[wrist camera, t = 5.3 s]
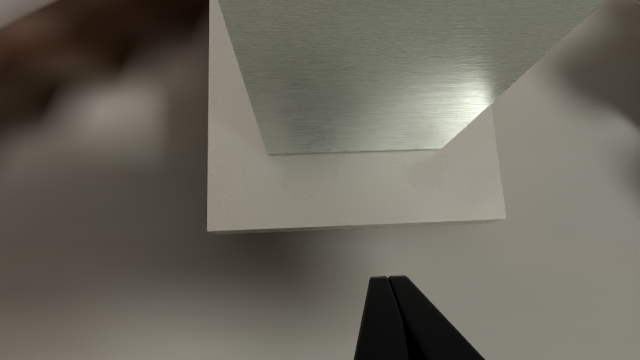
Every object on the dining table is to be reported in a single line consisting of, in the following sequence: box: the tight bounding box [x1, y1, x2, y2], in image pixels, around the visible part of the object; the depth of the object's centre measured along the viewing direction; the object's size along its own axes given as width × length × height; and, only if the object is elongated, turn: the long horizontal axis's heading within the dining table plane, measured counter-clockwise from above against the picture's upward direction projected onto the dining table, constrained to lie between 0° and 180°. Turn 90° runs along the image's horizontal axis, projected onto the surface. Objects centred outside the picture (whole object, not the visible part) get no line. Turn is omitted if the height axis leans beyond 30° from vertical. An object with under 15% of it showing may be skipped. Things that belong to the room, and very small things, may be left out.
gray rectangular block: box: [207, 0, 506, 234], centre depth 16 cm, size 10×10×3 cm
